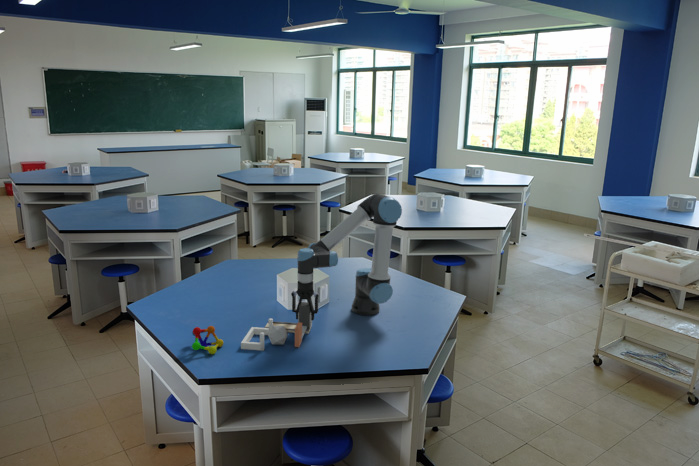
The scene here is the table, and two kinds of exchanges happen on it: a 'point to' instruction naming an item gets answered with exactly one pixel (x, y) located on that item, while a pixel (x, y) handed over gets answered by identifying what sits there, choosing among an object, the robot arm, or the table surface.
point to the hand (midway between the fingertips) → (305, 325)
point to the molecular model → (203, 344)
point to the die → (278, 335)
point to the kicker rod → (302, 322)
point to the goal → (258, 331)
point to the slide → (287, 326)
